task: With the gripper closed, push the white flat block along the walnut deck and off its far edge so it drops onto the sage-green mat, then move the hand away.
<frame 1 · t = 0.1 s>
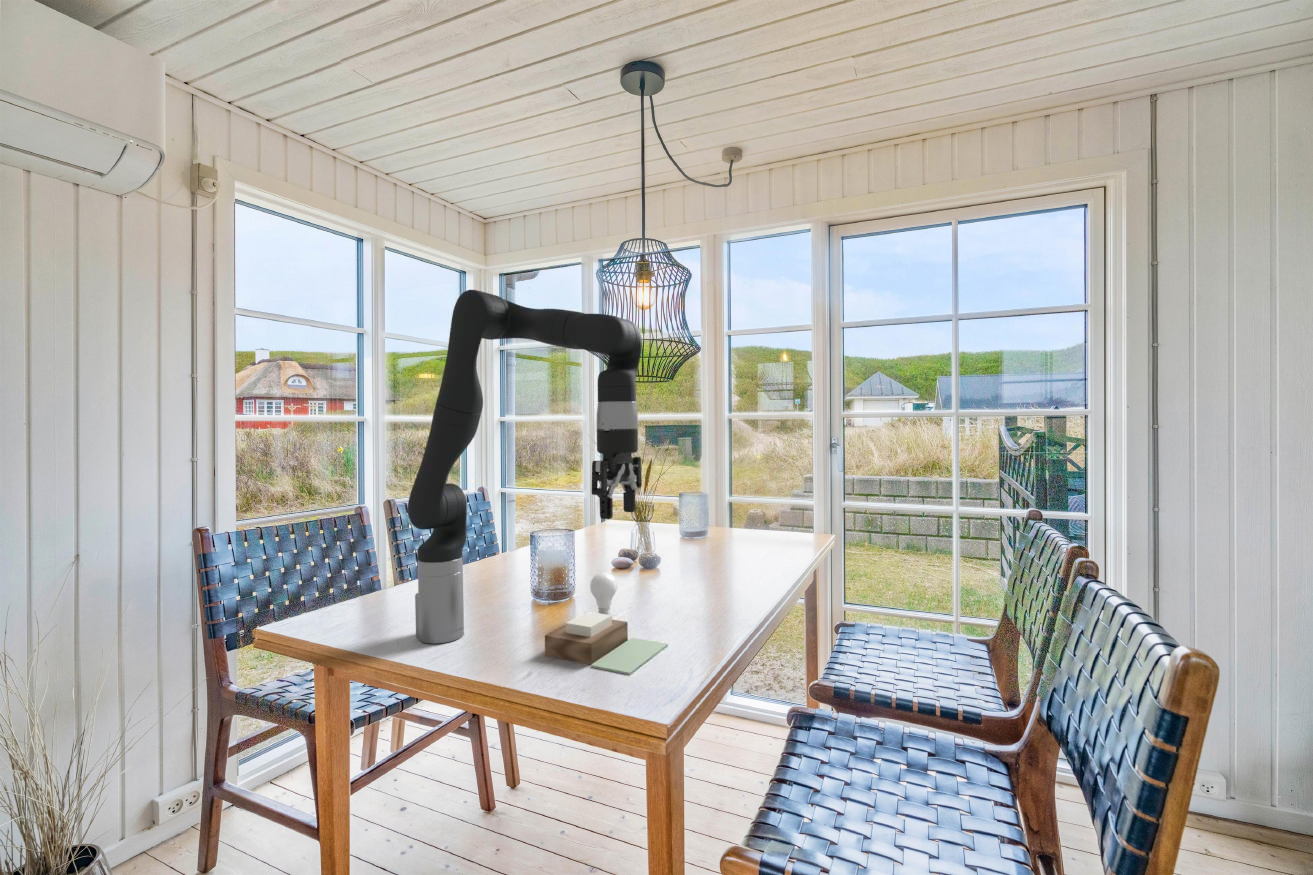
hand: (618, 515, 111), 29 cm above the table, tool pointing down, fingers open, 8 cm apart
white flat block: (589, 628, 124), point 4 cm above the table, touching deck
lightbulb: (604, 619, 142), on the table
mat: (631, 655, 119), on the table
deck: (587, 647, 124), on the table
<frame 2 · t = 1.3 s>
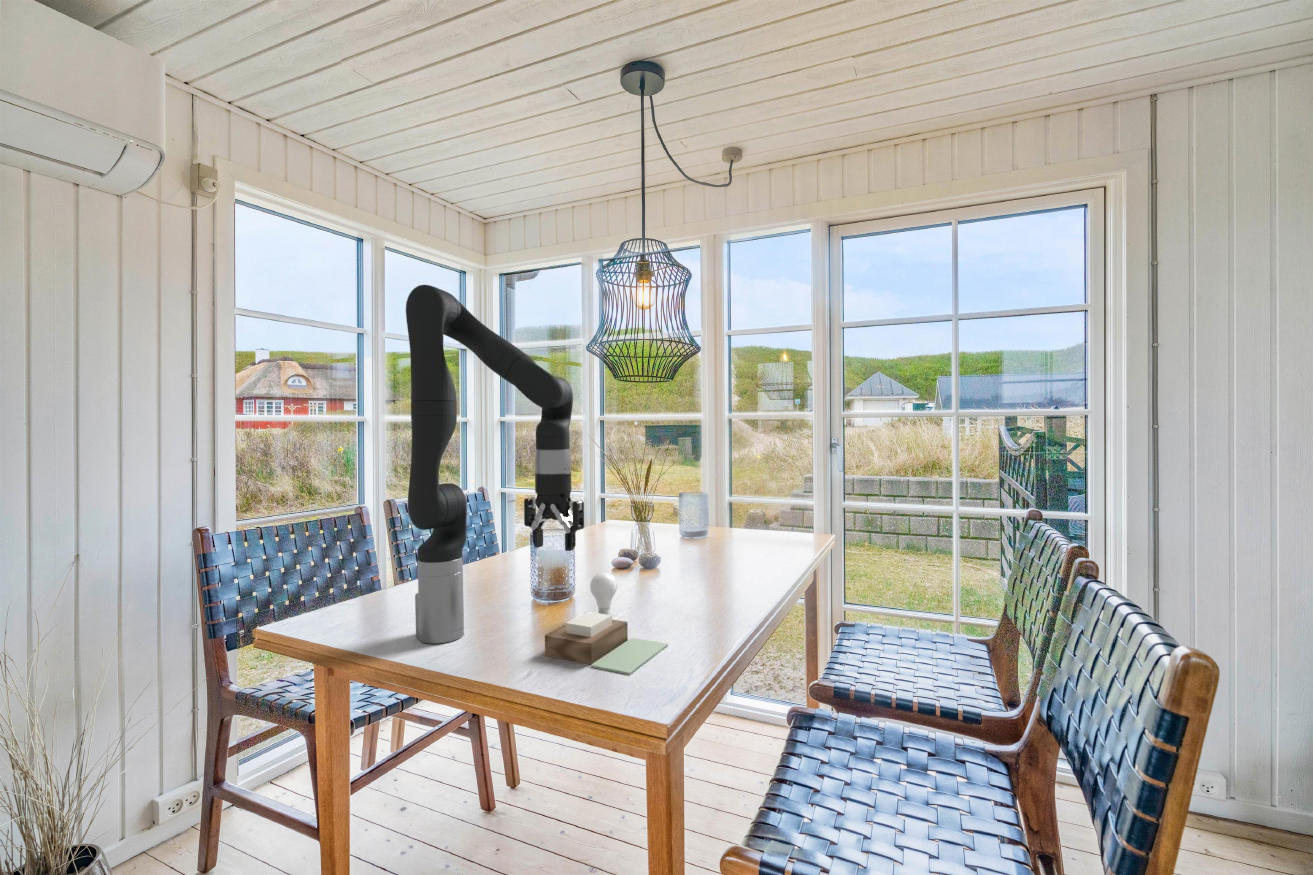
hand: (554, 548, 127), 20 cm above the table, tool pointing down, fingers open, 7 cm apart
nothing on the table moved.
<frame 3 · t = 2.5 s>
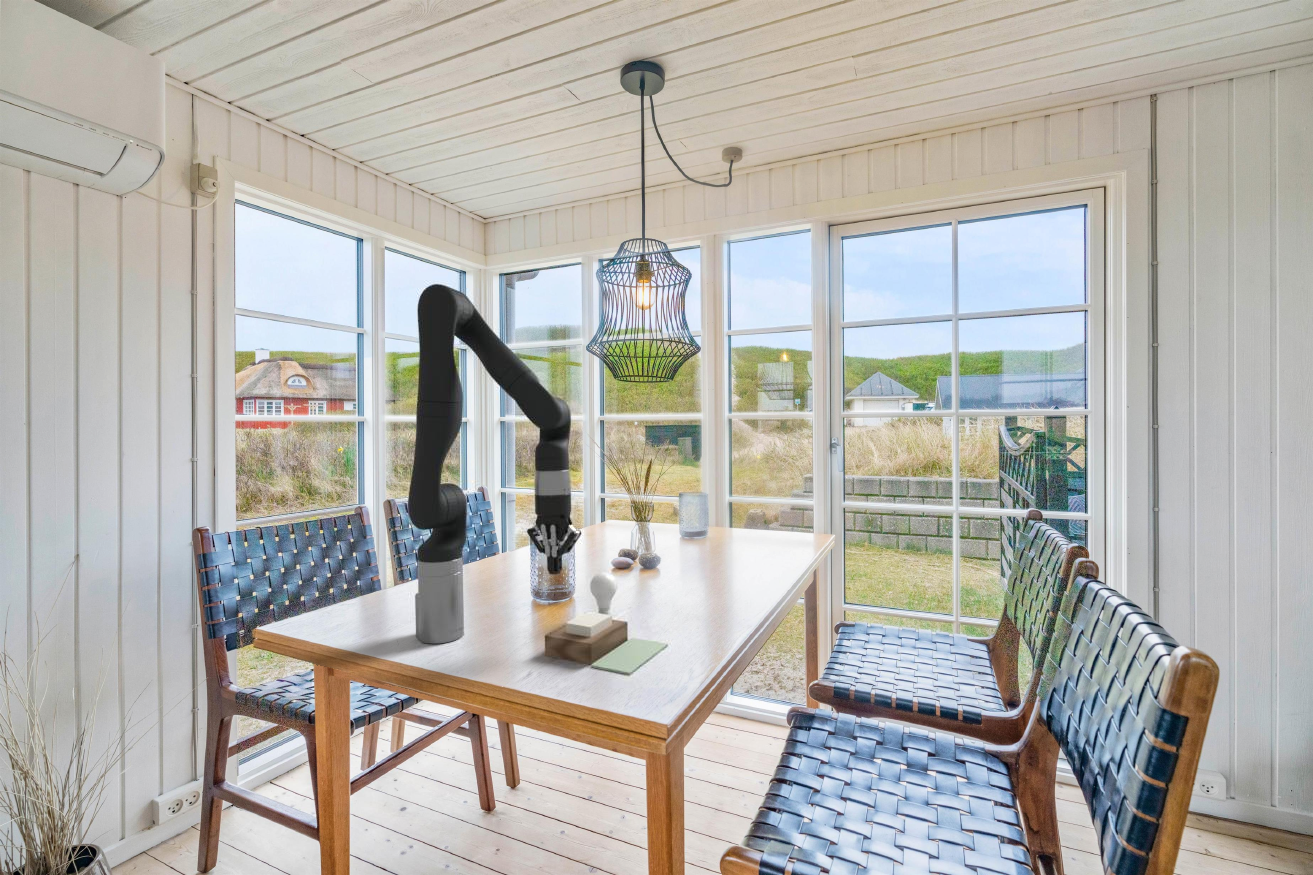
hand: (554, 573, 127), 15 cm above the table, tool pointing down, fingers closed
nothing on the table moved.
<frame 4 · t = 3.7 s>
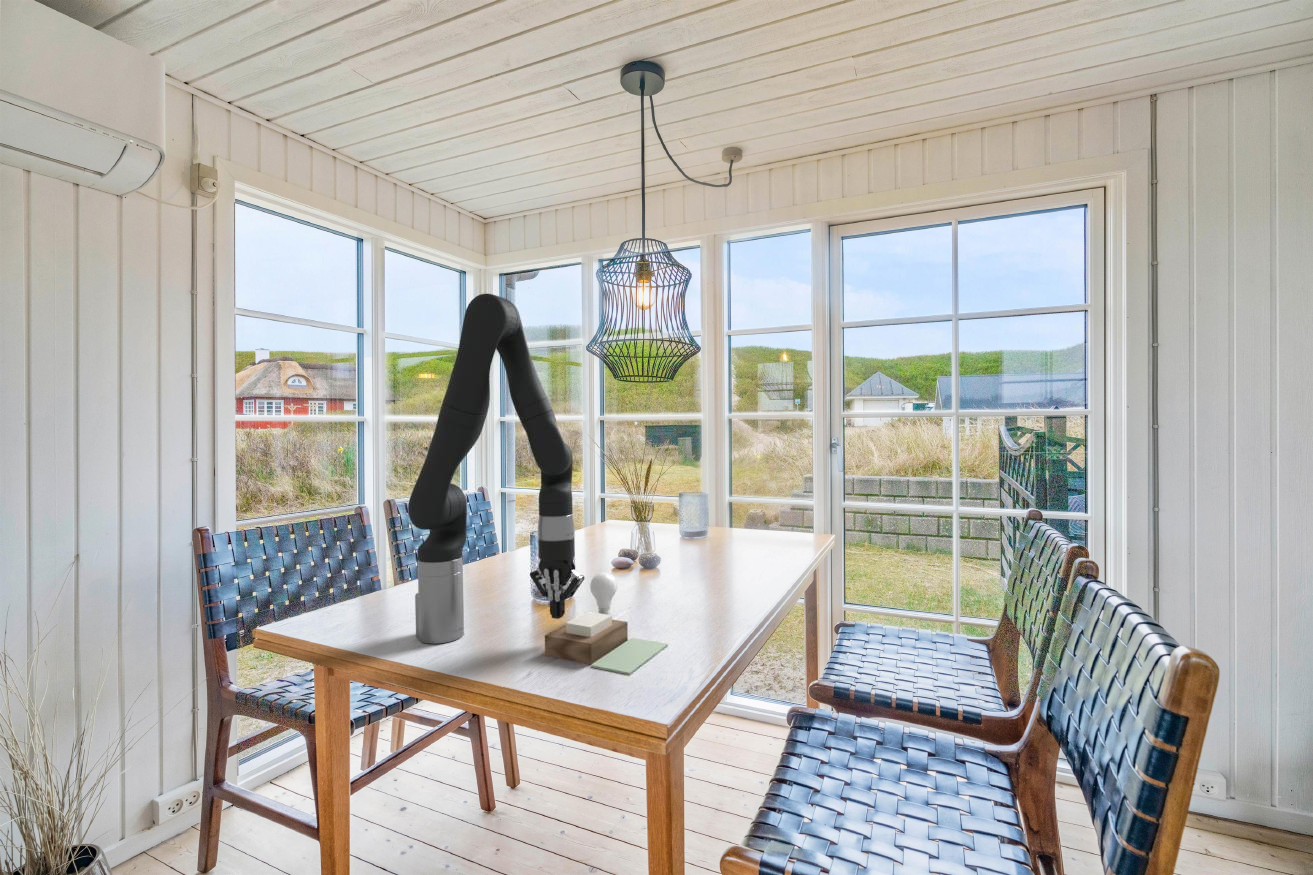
hand: (557, 617, 127), 5 cm above the table, tool pointing down, fingers closed
nothing on the table moved.
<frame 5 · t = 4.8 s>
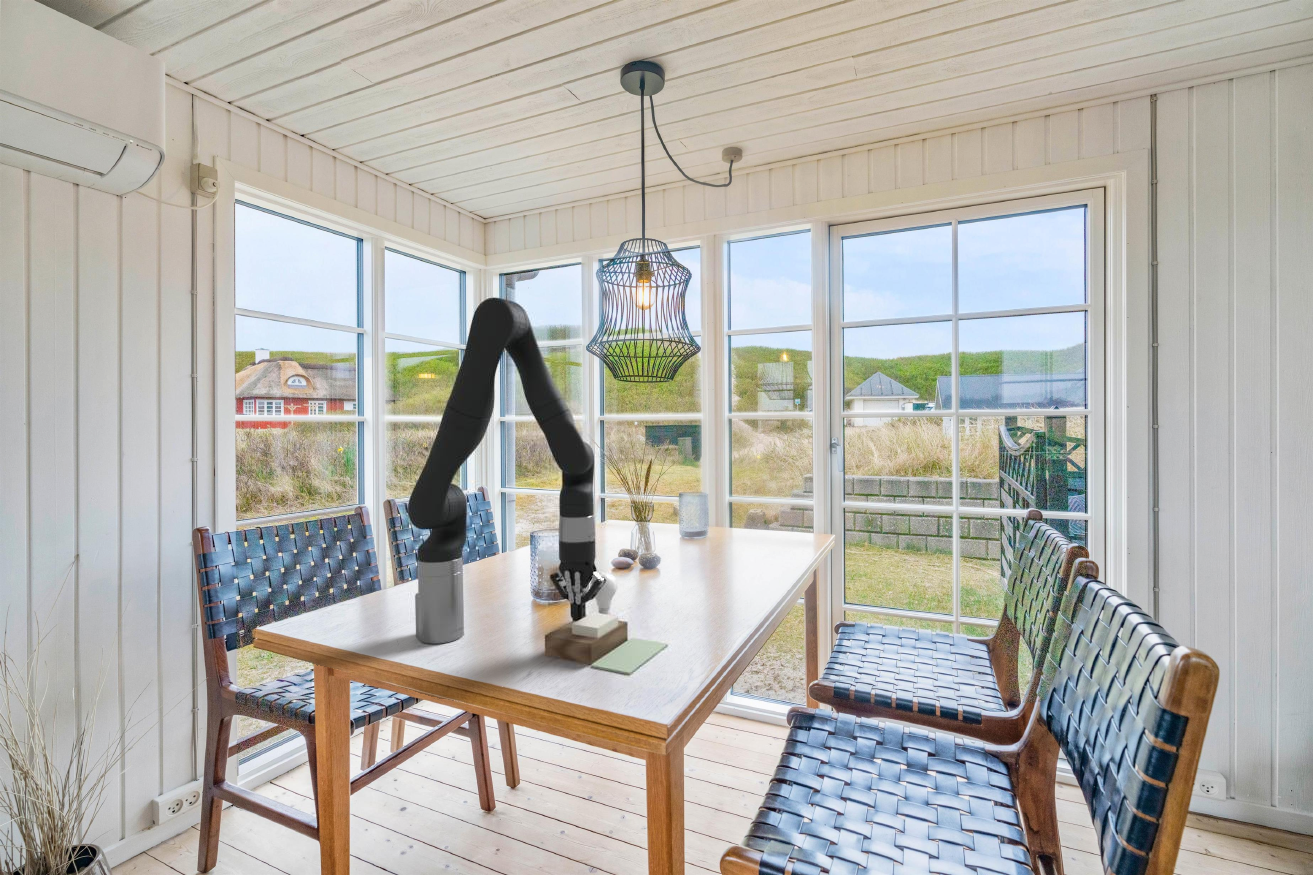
hand: (578, 620, 125), 5 cm above the table, tool pointing down, fingers closed
white flat block: (595, 629, 123), point 4 cm above the table, touching deck
everything else where it was.
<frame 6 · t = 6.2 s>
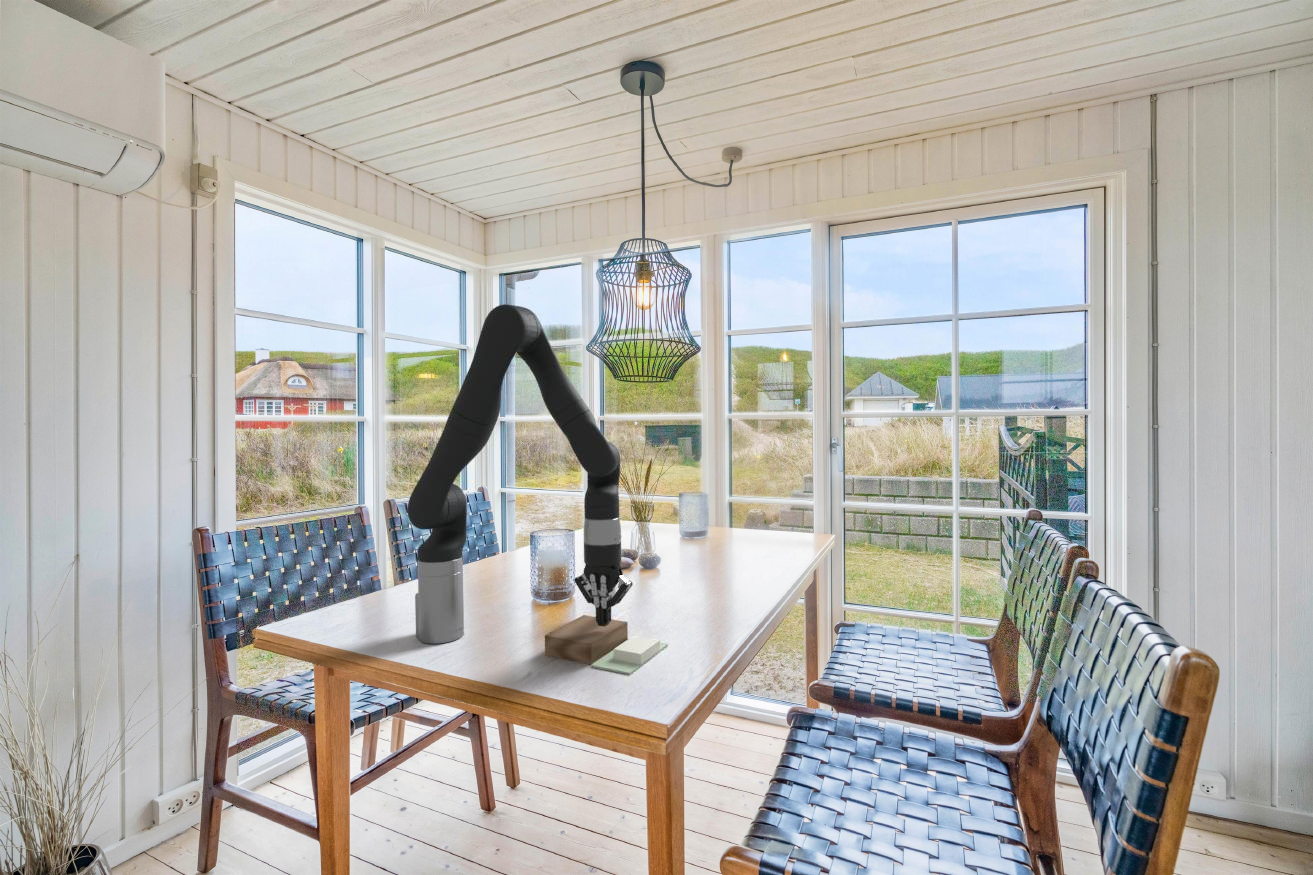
hand: (603, 624, 122), 5 cm above the table, tool pointing down, fingers closed
white flat block: (637, 644, 119), point 2 cm above the table, tilted 180°, touching mat
everything else where it was.
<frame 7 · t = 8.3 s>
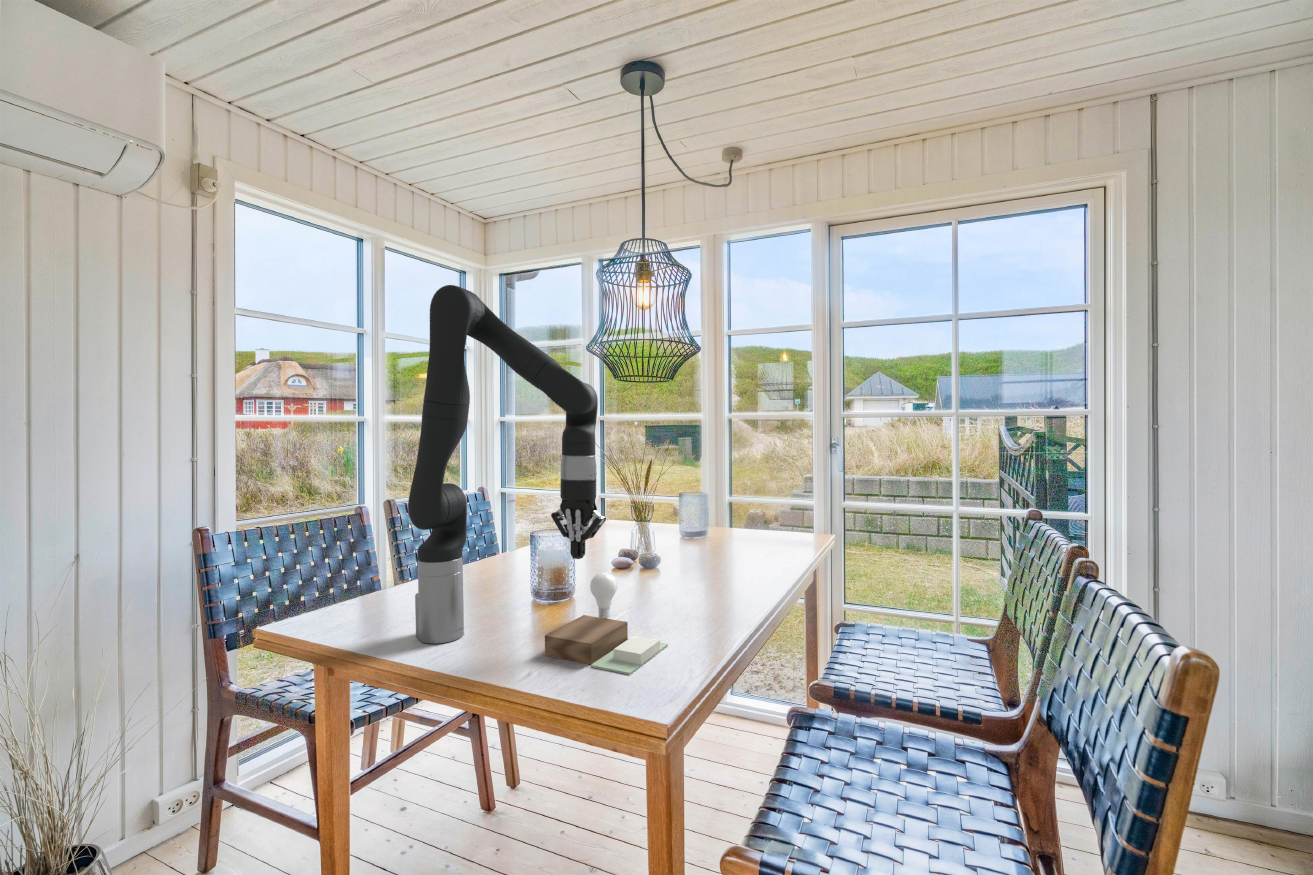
hand: (577, 558, 128), 18 cm above the table, tool pointing down, fingers closed
nothing on the table moved.
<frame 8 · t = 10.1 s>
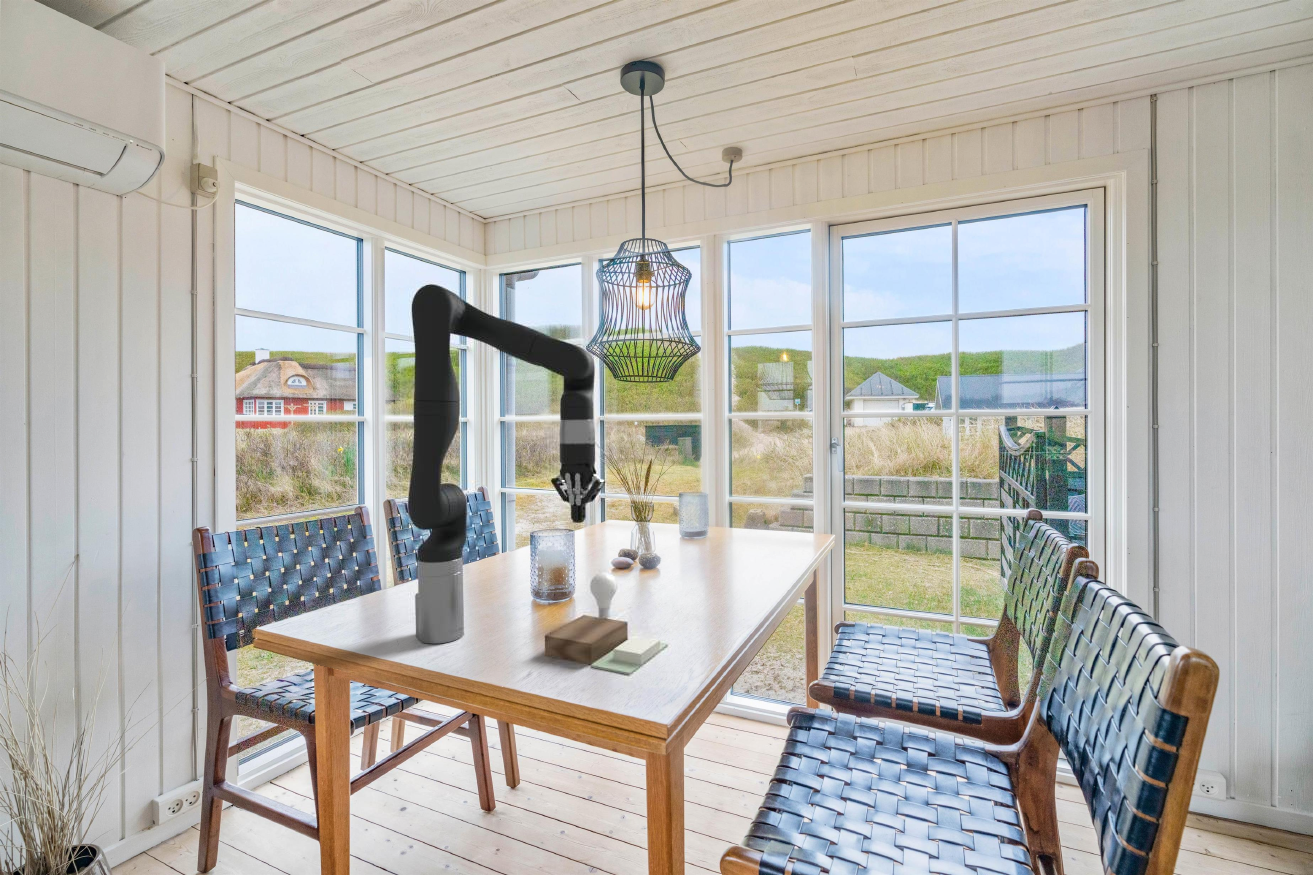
hand: (578, 522, 129), 25 cm above the table, tool pointing down, fingers closed
nothing on the table moved.
at the end: white flat block point 2.4 cm above the table; white flat block inside the target area on the mat (1.1 cm from its centre), point 2.4 cm above the mat's base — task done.
